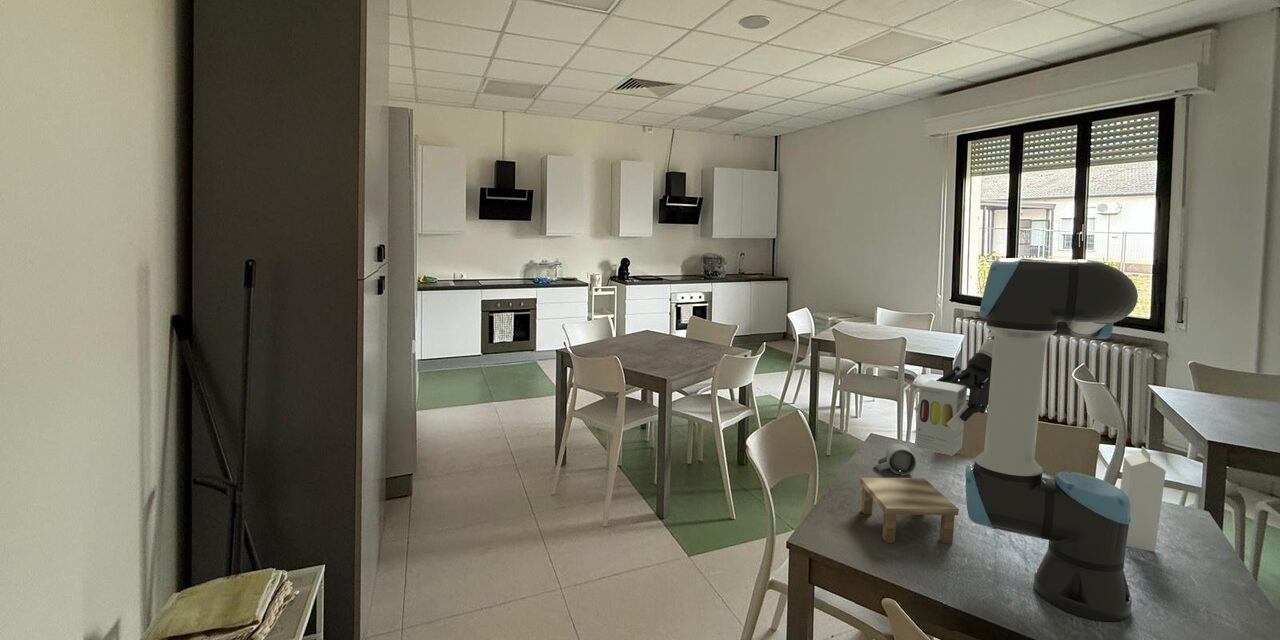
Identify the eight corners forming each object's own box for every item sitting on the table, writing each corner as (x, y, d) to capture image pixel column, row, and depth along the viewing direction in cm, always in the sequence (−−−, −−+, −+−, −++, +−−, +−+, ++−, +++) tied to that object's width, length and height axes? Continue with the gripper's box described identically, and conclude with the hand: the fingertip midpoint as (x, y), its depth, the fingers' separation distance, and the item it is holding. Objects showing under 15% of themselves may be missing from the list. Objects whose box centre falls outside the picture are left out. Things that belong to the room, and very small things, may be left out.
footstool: (955, 544, 135) (958, 508, 134) (884, 543, 135) (886, 508, 134) (921, 510, 152) (924, 478, 151) (858, 509, 152) (860, 477, 151)
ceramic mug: (910, 466, 181) (911, 441, 180) (915, 476, 173) (917, 451, 172) (872, 463, 183) (873, 439, 182) (876, 473, 175) (877, 448, 174)
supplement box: (913, 447, 157) (917, 384, 155) (924, 439, 164) (928, 378, 162) (953, 456, 151) (958, 391, 148) (963, 447, 158) (968, 384, 155)
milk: (1121, 546, 135) (1132, 452, 132) (1114, 534, 140) (1124, 443, 137) (1156, 552, 132) (1168, 456, 129) (1147, 539, 137) (1158, 447, 134)
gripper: (1036, 381, 145) (975, 445, 145) (965, 361, 169) (913, 415, 169) (1019, 361, 143) (957, 424, 143) (950, 343, 168) (897, 397, 167)
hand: (933, 419), depth 156 cm, fingers closed on supplement box, 13 cm apart
